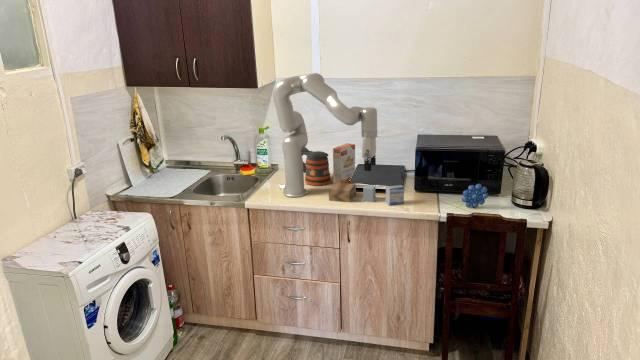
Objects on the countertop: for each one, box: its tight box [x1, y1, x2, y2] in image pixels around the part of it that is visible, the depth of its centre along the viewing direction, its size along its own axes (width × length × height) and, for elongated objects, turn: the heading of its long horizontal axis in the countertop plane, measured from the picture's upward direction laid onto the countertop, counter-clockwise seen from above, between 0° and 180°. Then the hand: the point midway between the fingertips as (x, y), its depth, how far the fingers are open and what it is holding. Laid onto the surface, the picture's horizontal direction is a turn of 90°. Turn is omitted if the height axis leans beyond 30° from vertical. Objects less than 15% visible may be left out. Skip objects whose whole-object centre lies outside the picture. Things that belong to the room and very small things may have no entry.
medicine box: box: [385, 184, 405, 206], centre depth 230 cm, size 8×4×9 cm, turn 105°
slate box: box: [362, 184, 376, 203], centre depth 235 cm, size 5×5×7 cm
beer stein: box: [301, 146, 332, 187], centre depth 264 cm, size 19×15×20 cm
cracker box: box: [332, 143, 356, 185], centre depth 261 cm, size 14×6×21 cm, turn 143°
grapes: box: [461, 183, 489, 209], centre depth 221 cm, size 12×7×12 cm, turn 74°
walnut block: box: [328, 182, 357, 203], centre depth 240 cm, size 11×11×6 cm
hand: (370, 167), depth 231 cm, fingers open, 9 cm apart
